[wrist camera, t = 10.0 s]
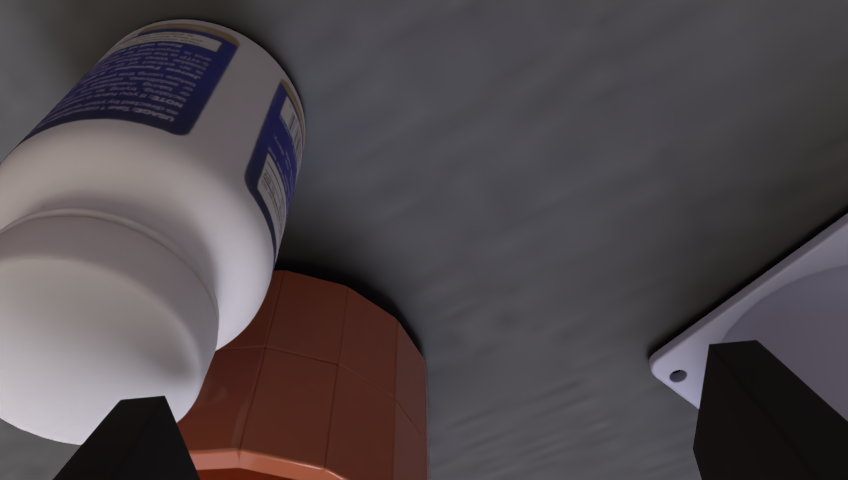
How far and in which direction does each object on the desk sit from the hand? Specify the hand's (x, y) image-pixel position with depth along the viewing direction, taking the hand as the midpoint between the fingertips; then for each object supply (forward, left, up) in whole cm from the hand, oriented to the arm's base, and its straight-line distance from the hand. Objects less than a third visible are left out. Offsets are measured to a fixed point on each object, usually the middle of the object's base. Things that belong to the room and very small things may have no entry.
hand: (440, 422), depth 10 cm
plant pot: (-3, +10, -10) cm, 15 cm away
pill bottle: (+4, +4, -11) cm, 12 cm away
